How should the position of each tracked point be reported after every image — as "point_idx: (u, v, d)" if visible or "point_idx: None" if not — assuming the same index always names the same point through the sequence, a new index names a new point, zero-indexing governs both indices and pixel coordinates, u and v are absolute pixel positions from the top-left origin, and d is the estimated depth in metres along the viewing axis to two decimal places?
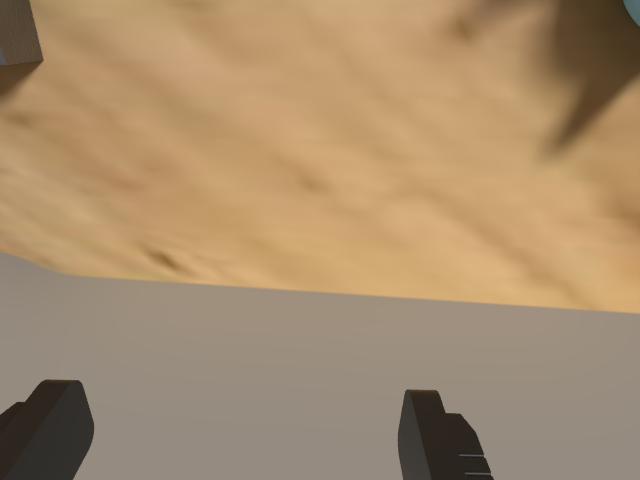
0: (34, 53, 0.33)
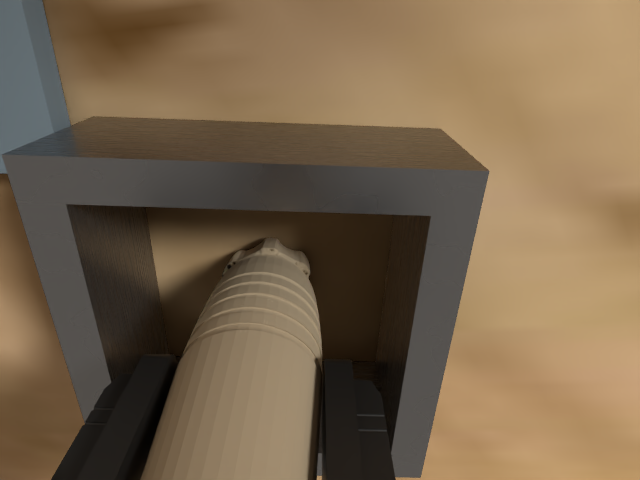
0: None
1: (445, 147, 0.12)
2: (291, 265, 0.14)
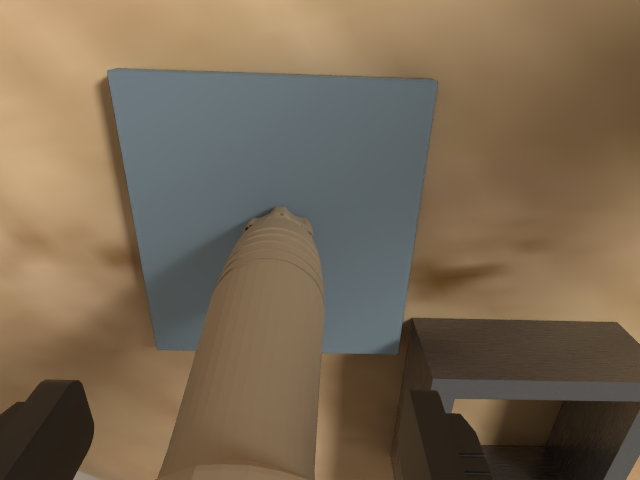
0: None
1: (638, 352, 0.21)
2: (298, 225, 0.17)
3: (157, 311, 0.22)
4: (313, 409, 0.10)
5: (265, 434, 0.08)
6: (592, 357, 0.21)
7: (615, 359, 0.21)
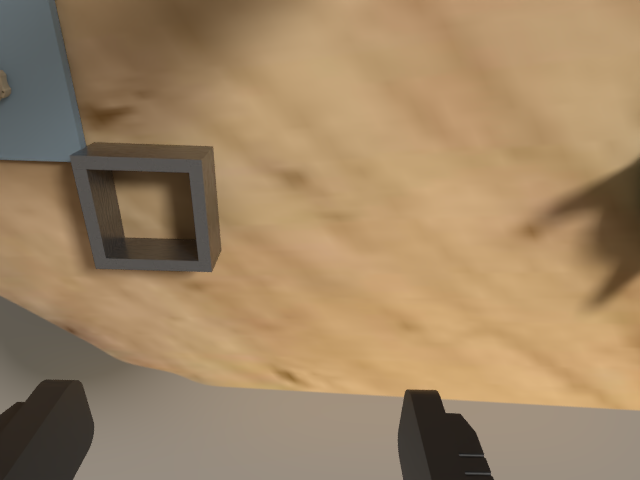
0: (219, 249, 0.45)
1: (201, 153, 0.39)
2: None
3: None
4: None
5: None
6: (171, 153, 0.38)
7: (183, 154, 0.38)
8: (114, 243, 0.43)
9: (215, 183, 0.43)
